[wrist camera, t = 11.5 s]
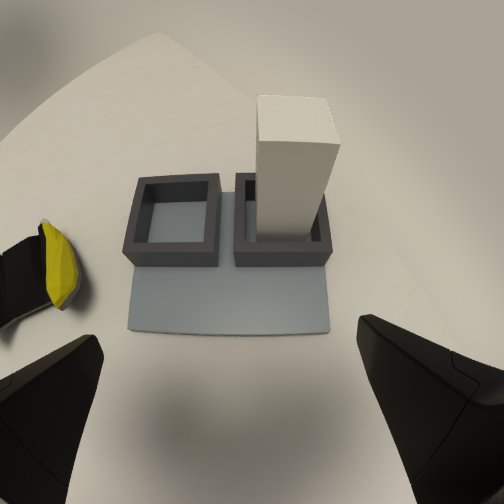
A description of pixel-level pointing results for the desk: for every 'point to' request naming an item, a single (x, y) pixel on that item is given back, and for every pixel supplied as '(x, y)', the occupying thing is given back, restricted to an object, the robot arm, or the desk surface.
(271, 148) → the plug
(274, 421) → the desk surface
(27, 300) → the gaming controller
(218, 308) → the board
